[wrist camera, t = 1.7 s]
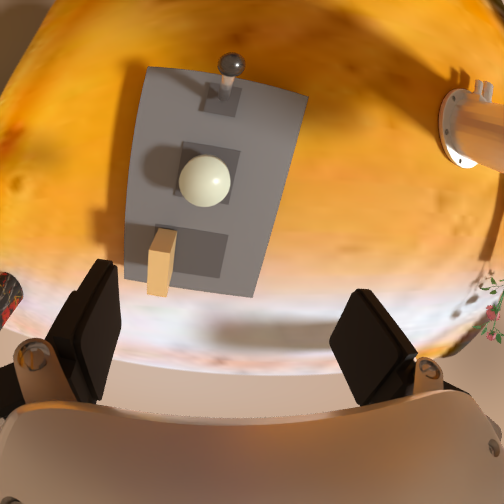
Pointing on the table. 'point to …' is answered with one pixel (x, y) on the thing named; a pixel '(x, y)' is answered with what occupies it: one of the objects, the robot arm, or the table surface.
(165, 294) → the paddle switch
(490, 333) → the flower vase
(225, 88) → the toggle lever
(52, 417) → the robot arm
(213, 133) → the control panel
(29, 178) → the table surface
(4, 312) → the deodorant
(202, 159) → the push button
